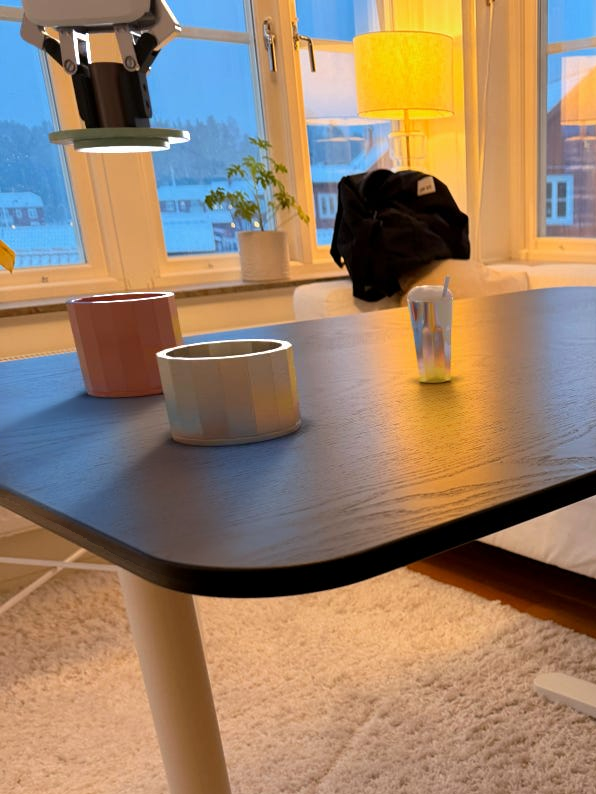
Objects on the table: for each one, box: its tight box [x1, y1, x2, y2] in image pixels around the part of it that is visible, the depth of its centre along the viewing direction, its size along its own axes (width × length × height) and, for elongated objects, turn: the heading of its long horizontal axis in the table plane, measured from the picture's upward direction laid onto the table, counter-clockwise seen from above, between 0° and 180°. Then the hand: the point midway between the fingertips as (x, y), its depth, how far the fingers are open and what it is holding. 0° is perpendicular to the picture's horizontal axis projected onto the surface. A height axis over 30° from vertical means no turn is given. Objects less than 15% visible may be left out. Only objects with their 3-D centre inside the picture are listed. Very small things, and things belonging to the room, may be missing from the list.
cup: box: [65, 291, 185, 398], centre depth 92 cm, size 10×10×9 cm
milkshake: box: [406, 275, 454, 384], centre depth 88 cm, size 4×5×10 cm
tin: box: [156, 339, 302, 447], centre depth 72 cm, size 10×10×6 cm
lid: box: [47, 61, 191, 154], centre depth 75 cm, size 11×11×6 cm
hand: (118, 128), depth 75 cm, fingers closed on lid, 3 cm apart
